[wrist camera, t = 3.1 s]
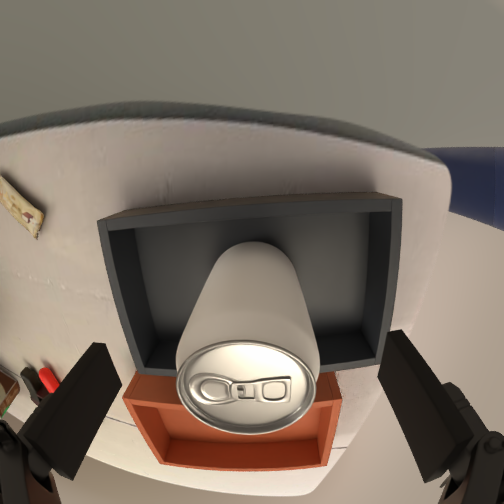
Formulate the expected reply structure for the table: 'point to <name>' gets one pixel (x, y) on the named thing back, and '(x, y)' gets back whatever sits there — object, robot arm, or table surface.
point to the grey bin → (267, 231)
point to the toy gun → (35, 386)
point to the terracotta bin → (228, 444)
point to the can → (249, 345)
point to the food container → (7, 392)
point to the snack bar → (20, 208)
